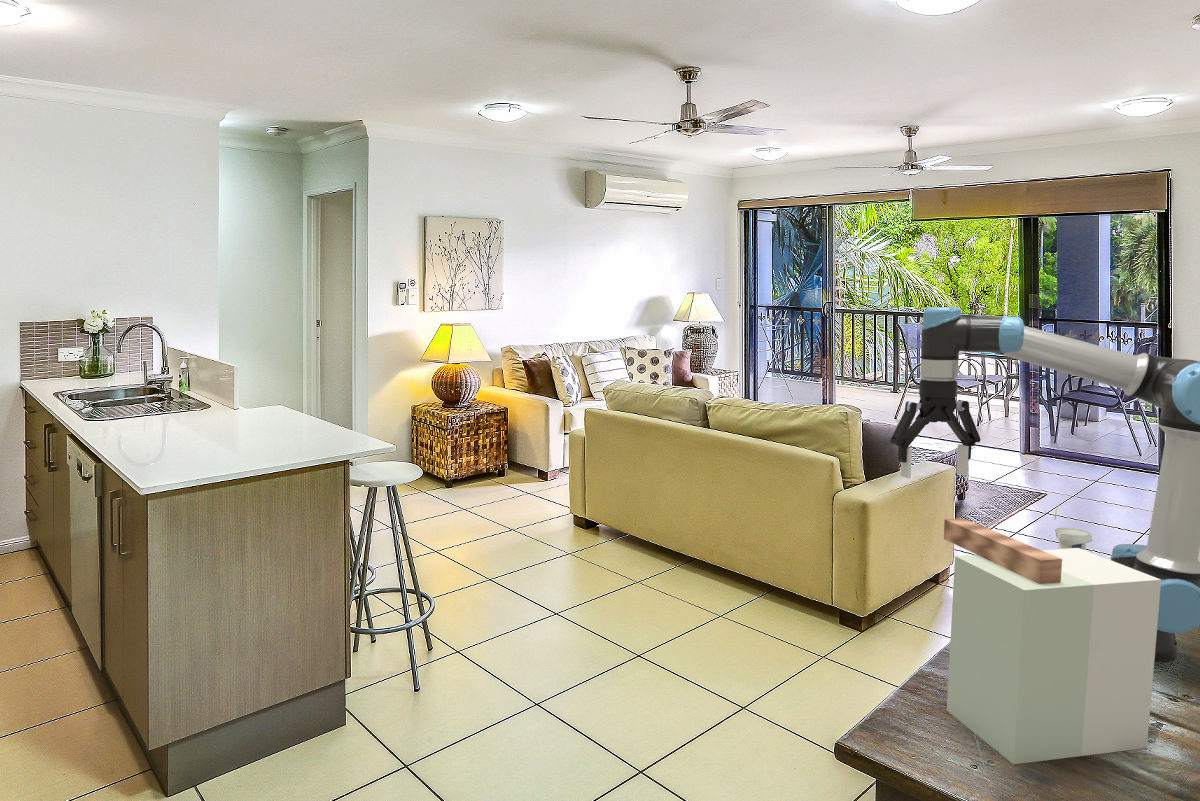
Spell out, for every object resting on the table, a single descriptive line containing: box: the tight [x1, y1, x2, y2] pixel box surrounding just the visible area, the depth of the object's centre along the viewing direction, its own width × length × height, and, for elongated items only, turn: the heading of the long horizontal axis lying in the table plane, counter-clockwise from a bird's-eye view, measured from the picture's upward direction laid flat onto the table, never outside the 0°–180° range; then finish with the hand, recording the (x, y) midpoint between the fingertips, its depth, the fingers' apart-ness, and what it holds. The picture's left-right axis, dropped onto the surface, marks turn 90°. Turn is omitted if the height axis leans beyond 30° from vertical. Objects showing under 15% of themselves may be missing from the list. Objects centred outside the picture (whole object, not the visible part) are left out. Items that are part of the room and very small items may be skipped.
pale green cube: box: [946, 548, 1161, 765], centre depth 141 cm, size 18×26×30 cm
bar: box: [943, 517, 1062, 584], centre depth 144 cm, size 26×4×4 cm, turn 11°
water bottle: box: [1054, 506, 1093, 551], centre depth 200 cm, size 8×9×25 cm
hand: (933, 475), depth 174 cm, fingers open, 13 cm apart
